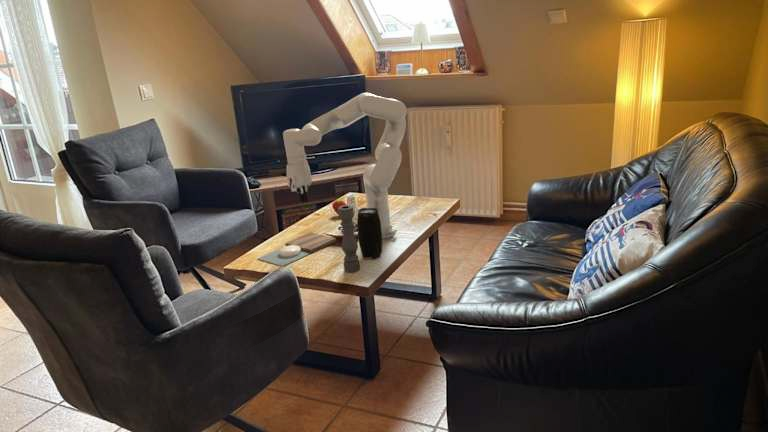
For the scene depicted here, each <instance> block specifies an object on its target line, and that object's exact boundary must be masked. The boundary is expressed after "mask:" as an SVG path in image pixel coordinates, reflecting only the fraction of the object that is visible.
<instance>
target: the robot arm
mask: <svg viewBox="0 0 768 432" xmlns="http://www.w3.org/2000/svg"><path fill="white" fill-rule="evenodd" d="M406 115H407V107H406V105H405V103H403V102H402V101H400V100H397V99H394V98H387V97H382V96H378V95H375V94H372V93H370V92H362V93H360V94H358V95H356V96H354V97H353V98H351V99H350V100H348V101H347V102H344V103H343V104H341V105H339V106H338V107H336V108H333V109H332V110H330V111H328V112H326V113H324V114H322V115H320V116H319V117H317V118H314V119H313V120H312V121H310V122H308V123H306V124H305V125H304V126H303V127H302V128H301V129H299V128H289V129H286V130H284V131H283V132H282V137H283V143H284V148H285V153H286V155H285V156H286V159H287V164H286V180H287V185H288V187H289V188H290V189H291V190H290V191H291V192H296V193H297V194H298V198H299V202H300V203H307V202H308V201H309V200H308V194H307V193H308V189H309V187H310V186H311V185H312V180H313V178H312V173H311V168H310V165H309V162H308V160H307V158H306V157H307V156H308V155H307V154H306V151H305V146H306V147H307V146H308V147H310V146H317V145H318V144H320V142H321V141H322V139H323V136H324V135H326V134H327V133H330V132H332V131H333V130H337V129H338V130H339V129H343V128H346V127H349V126H350V125H351V124H354V123H355V122H356V121H358V120H360V119H362V118H364V117H365V116H368V117H372V118H377V119H380V120H385V128H384V131H383V133H382V136H381V138H380V140H379V142H378V144H377V146H376V149H375V151H374V157H375V159H376V163H375V164H374V163H373V164H370V165H367V167H366V168H365V169H364V171H363V173H362V174H363V177H362V178H363V179H362V181H363V186H364V190H365V192H364V193H365V198H366V199H365V200H366V201H365V202H366V208H377V210H378V215H379V218H380V222H381V231H382V240H384V239H388V238H391V237H393V236H395V235H396V234H397V233H396V232H397V231H398V229H397V228H395V227H394V228H393V224H392V223H391V219H390V217H391V214H390V206H389V193H388V188H390V187H391V185H392V182H393V180H394V179H395V176H396V175H397V172H398V170H399V167H400V166H401V162H402V158H403V157H402V156H403V155H402V151H401V150H400V146H401V144H402V141H403V139H404V137H405V132H406V127H407V122H406Z"/></svg>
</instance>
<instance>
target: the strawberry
mask: <svg viewBox="0 0 768 432" xmlns="http://www.w3.org/2000/svg"><path fill="white" fill-rule="evenodd" d="M340 198H341V197H340V196H339V199H335V200H333V203H332V209H333V211H334V212H335V213H336V214H337V215H338V216H339V214H338V207H340V206H343V205H347V203H346V202H345V200H344V198H341V199H340Z"/></svg>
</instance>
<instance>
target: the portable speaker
mask: <svg viewBox="0 0 768 432" xmlns="http://www.w3.org/2000/svg"><path fill="white" fill-rule="evenodd" d="M356 225H357V226H356V227H357V228H356V229H357V236H358V246H359V248H360V252H361V253H360V254H361V256H362V258H363V259H366V258H368V259H372V260H378V259H379V258H381V257H382V253H383V239H382V231H381V222H380V218H379V215H378V210H377V208H367V207H361V208H359V209H358V213H357V221H356Z"/></svg>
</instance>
